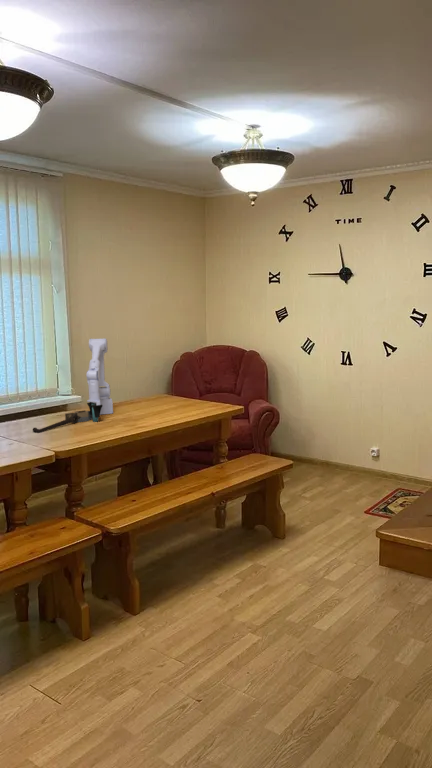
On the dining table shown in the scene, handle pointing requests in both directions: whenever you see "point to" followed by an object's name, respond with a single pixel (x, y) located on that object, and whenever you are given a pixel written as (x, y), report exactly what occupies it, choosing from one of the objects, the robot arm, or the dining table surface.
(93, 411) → the pin
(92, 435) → the dining table surface
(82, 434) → the dining table surface
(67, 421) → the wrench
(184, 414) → the dining table surface
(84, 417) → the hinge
